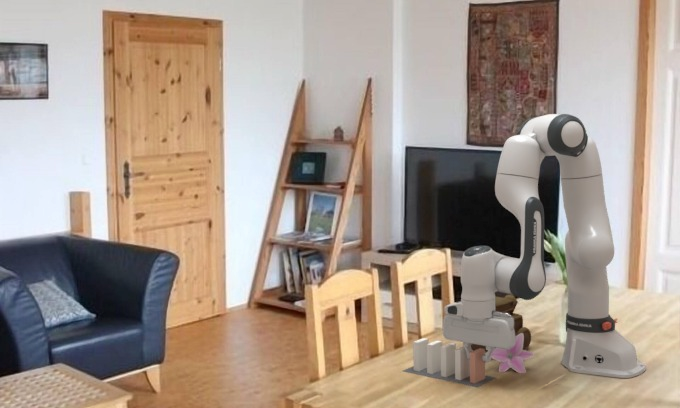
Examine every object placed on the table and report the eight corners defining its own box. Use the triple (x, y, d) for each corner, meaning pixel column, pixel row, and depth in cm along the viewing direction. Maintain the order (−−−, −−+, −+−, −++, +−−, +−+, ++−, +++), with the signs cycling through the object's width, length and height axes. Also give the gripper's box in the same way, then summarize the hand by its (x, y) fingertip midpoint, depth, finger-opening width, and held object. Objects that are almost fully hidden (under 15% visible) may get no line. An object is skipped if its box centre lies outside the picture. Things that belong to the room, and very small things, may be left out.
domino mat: (497, 379, 246) (497, 377, 245) (477, 389, 238) (477, 387, 238) (422, 364, 261) (422, 362, 261) (401, 373, 253) (401, 371, 253)
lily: (479, 373, 255) (482, 348, 250) (499, 348, 263) (502, 323, 257) (518, 392, 250) (522, 367, 244) (537, 366, 257) (542, 341, 252)
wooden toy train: (497, 363, 261) (497, 305, 259) (464, 356, 269) (464, 300, 267) (534, 348, 276) (535, 293, 274) (502, 341, 283) (502, 288, 281)
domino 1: (428, 366, 256) (428, 338, 255) (418, 371, 253) (418, 342, 252) (423, 365, 257) (423, 337, 256) (413, 370, 254) (413, 341, 253)
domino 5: (485, 378, 245) (485, 349, 244) (475, 383, 241) (475, 353, 240) (479, 377, 246) (479, 348, 245) (469, 382, 242) (469, 352, 241)
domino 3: (456, 372, 251) (456, 343, 250) (446, 377, 247) (445, 347, 246) (451, 371, 252) (451, 342, 251) (441, 376, 248) (440, 346, 247)
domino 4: (470, 375, 248) (470, 346, 247) (460, 380, 244) (460, 350, 243) (465, 374, 249) (465, 345, 248) (455, 379, 245) (455, 349, 244)
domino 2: (442, 369, 254) (442, 341, 253) (432, 374, 250) (431, 345, 249) (437, 368, 255) (437, 340, 254) (427, 373, 251) (426, 344, 250)
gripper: (519, 311, 237) (520, 363, 239) (451, 301, 250) (452, 351, 252) (507, 316, 232) (508, 369, 234) (439, 306, 245) (440, 357, 247)
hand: (478, 360), depth 243 cm, fingers open, 3 cm apart
